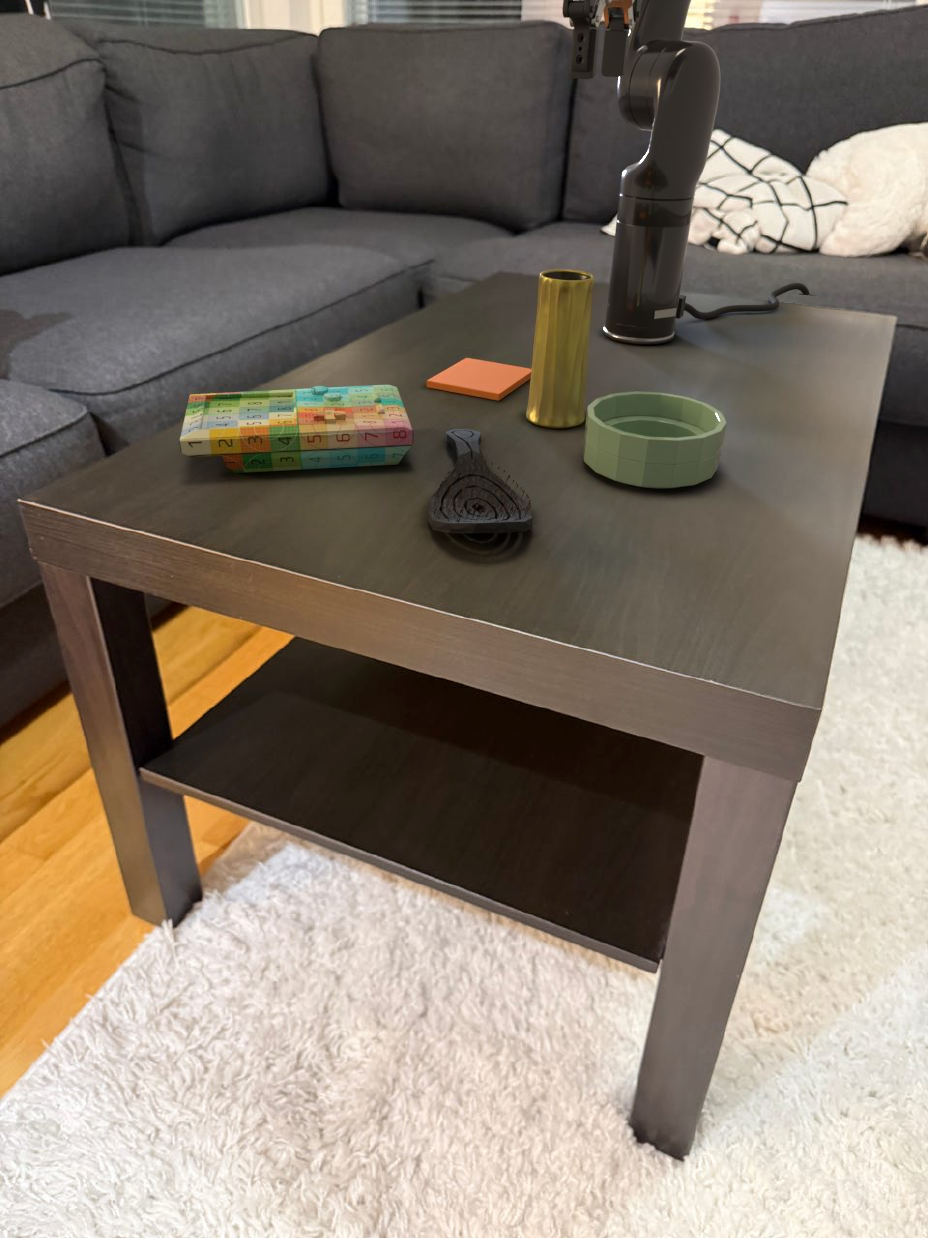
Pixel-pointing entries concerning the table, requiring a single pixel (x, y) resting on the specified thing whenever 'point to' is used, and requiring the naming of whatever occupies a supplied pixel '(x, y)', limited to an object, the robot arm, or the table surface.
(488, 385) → the square tile
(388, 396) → the puzzle game
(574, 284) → the vase
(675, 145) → the robot arm
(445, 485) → the hairbrush
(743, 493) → the table surface
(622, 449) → the bowl
